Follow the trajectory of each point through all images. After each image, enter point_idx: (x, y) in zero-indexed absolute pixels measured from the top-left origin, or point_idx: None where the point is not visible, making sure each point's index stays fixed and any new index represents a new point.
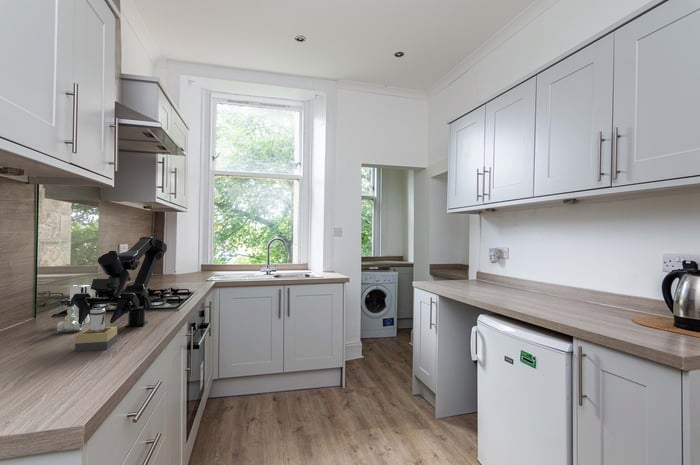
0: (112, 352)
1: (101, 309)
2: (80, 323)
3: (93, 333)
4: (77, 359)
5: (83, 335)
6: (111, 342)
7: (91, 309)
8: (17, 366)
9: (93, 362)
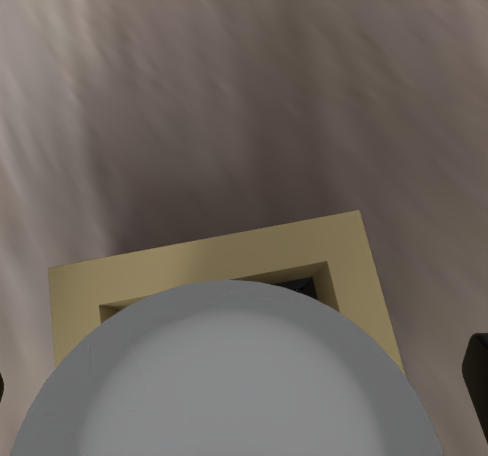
0: (28, 221)
1: (62, 410)
2: (466, 360)
3: (207, 277)
4: (197, 98)
5: (283, 227)
6: None
7: (386, 410)
8: (471, 11)
9: (63, 44)
